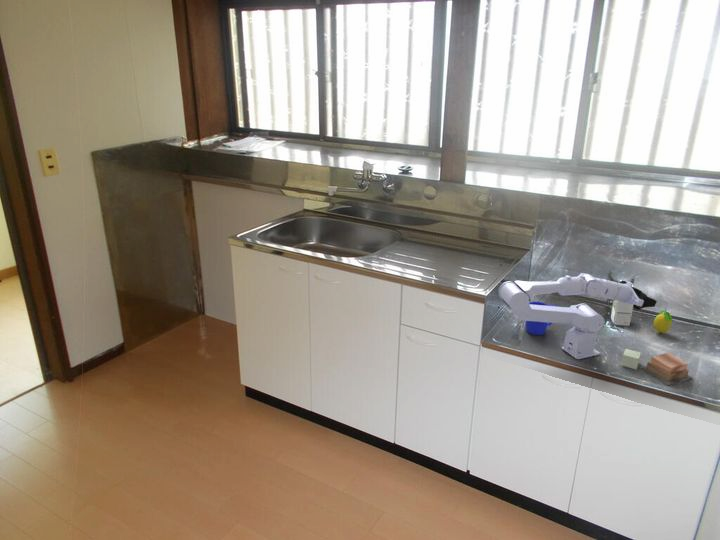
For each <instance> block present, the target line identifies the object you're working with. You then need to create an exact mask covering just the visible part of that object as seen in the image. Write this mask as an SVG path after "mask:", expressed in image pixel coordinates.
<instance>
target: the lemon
mask: <svg viewBox="0 0 720 540" xmlns="http://www.w3.org/2000/svg"><path fill="white" fill-rule="evenodd" d="M672 323H673V317H672V314H671V313H670V312H669V311H667V307H665V310H663V309H662V310H660V311H659V313H658V314H657V316H656V317H655V318H654V320H653V329H654V330H655V331H656V332H658V333H659V334H663V333H667V332H669V330H670V329H671V327H672Z"/></svg>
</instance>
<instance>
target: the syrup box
mask: <svg viewBox="0 0 720 540" xmlns="http://www.w3.org/2000/svg"><path fill="white" fill-rule="evenodd" d="M632 287H634V288H635V285H634V284H632ZM612 301H613V302H612V307H611V312H610V319H611V321H612V324H613V325H615V326H622V327H627V326H628V327H630V325H631V320H632V314H633V309H634V308H633V305H634V304H629V303H623V302H620V301H617V300H612Z"/></svg>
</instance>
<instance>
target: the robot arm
mask: <svg viewBox="0 0 720 540" xmlns="http://www.w3.org/2000/svg"><path fill="white" fill-rule="evenodd" d="M632 285H633V283H632V282H631V281H629V280H628V281H626V280H624V279H623V280H621V281H620V282H618V281H617V282H616V281H613V280H612V281H611V280H609V279H604V278H598V277H594V276H593V275H591V274H590V273H587V272H581V273H580V274H579V275H577V276H570V275H565V277H559V278H558V279H557V280H556V281H526V280H514V281H510V280H509V281H505V282H503V283H502V284H501V285H500V286H499V288H498V295H499V298H500V301H501V302H502V303H503V304H504V305H505V306H506V308H508V309H509V310H510V312H512V313H513V314H514V315H515V316H516V317H517V318H518V319H519V320H521V321H523V322H524V321H525V322H526V321H536V322H548V323H552V324H563V325H573V327H572V328H570V329H568V330H567V331H566V333H565V337H564V343H563V346H562V347H561V349H562V350H563V351H565V352H566V353H567V354H569V355H570V356H572V357H573V358H575V359H576V360H581V359H585V358H590V357H594V356H599V355H600V354H601V353H600V351H598V350H597V349H596V345H597V344H596V343H597V339H598V333H599V332H600V331H601V330H602V329H603V327H604V326H605V318H604V317H603V316H602V315H601V314H599V313H598V312H596V311H595V310H594V309H593V308H592V307H590V305H588V304H587V303H579V304H574V305H573V304H572V305H570V307H568V306H567V307H566V306H565V307H564V306H557V307H555V306H550V305H549V306H544V305H532V304H529V303H530V302H534V299H535V297H536V296H539V295H547V294H555V293H558V294H559V295H560V296H577V295H584V294H585V295H586V296H588V297H589V298H595V297H600V298H604V299H608V300H612V301H614V300H617V301H620V302H623V303H629V304H634V305H633V309H635V310H642V309H644V308H645V309H646V308H654V307H655V306H656V304H657V303H658V300H656V299H654V298H652V297H649V296H648V295H647V294H645V293H644V292H643V291H642V290H641V289H638V288H637V287H635V286H634V287H632Z"/></svg>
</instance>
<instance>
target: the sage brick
mask: <svg viewBox="0 0 720 540" xmlns="http://www.w3.org/2000/svg"><path fill="white" fill-rule="evenodd" d="M641 354H642V352H639V351H635V350H633V349H632V350H631V349H628V348H625V349H624V352H623V355H622V359H621V363H620V366H622V367H626V368H629V369H633V370H637V368H638V366H639V363H640V358H641Z"/></svg>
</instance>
